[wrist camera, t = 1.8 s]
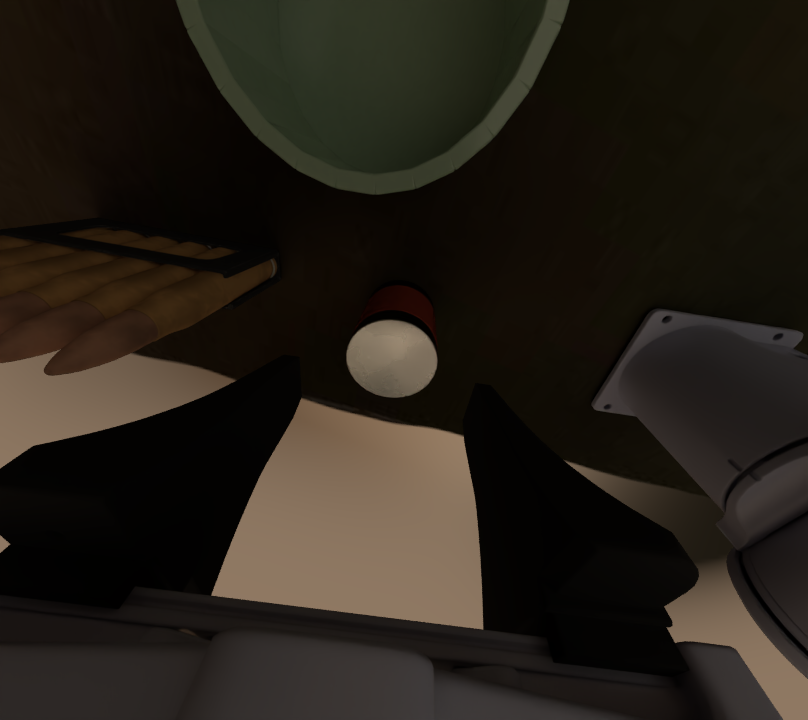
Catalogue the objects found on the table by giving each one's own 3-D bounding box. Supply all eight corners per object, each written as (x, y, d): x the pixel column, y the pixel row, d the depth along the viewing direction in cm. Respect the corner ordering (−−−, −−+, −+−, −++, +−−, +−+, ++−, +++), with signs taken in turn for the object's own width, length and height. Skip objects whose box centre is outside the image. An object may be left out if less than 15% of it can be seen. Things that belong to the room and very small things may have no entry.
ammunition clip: (279, 250, 17) (67, 348, 7) (281, 280, 18) (98, 406, 8) (96, 217, 17) (-413, 270, 7) (108, 250, 18) (-320, 340, 8)
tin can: (440, 285, 18) (447, 327, 13) (427, 347, 20) (428, 404, 15) (369, 274, 18) (346, 311, 12) (364, 338, 20) (343, 391, 15)
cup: (559, -137, 10) (731, -545, 4) (476, 204, 15) (506, 216, 10) (255, -196, 10) (26, -709, 4) (281, 172, 15) (199, 166, 10)
